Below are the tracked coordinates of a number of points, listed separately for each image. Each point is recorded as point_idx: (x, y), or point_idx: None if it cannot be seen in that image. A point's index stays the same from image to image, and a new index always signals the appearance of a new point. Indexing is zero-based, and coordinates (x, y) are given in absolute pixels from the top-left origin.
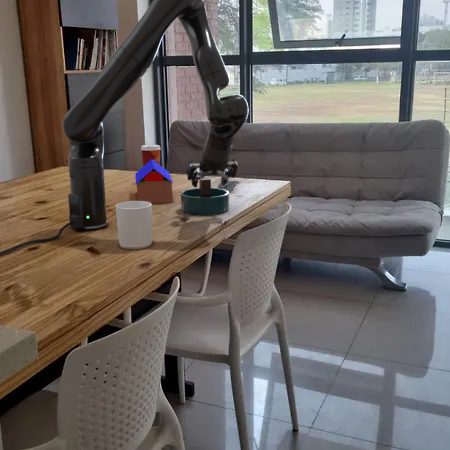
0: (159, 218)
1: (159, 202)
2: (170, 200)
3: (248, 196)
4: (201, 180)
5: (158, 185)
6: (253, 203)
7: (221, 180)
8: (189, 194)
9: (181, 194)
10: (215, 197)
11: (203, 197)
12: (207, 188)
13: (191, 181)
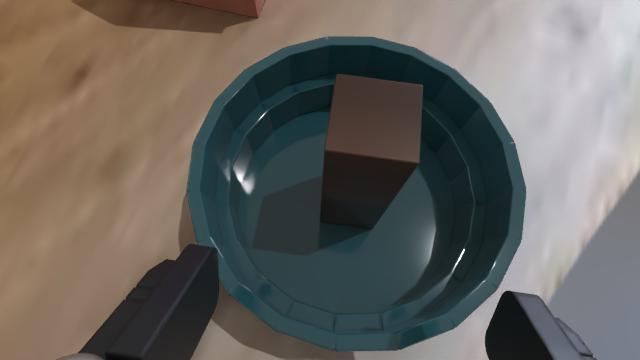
0: (54, 275)
1: (203, 4)
2: (248, 8)
3: (618, 43)
4: (326, 151)
5: None
6: (624, 174)
7: (509, 314)
8: (296, 72)
9: (192, 151)
10: (381, 349)
11: (287, 323)
12: (370, 189)
13: (148, 275)
